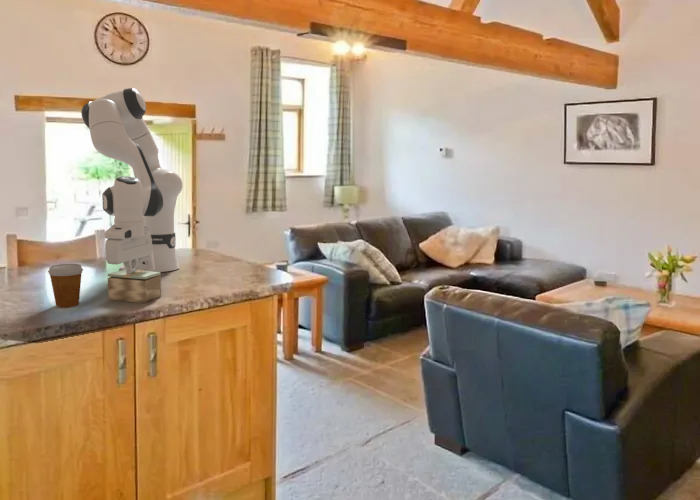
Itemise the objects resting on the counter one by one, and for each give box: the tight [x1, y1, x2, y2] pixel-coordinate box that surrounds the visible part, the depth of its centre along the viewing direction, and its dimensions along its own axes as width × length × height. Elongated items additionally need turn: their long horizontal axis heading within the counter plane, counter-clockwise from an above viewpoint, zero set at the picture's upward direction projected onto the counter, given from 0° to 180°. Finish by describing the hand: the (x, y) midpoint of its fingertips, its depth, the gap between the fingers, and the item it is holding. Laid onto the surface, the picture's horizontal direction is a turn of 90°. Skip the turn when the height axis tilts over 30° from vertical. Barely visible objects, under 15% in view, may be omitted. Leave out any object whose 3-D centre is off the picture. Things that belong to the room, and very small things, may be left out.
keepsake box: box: [107, 275, 162, 304], centre depth 196 cm, size 13×9×7 cm
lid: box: [107, 269, 162, 279], centre depth 195 cm, size 13×9×1 cm
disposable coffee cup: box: [47, 263, 84, 309], centre depth 185 cm, size 10×10×12 cm
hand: (131, 273), depth 194 cm, fingers closed, pressing on lid
